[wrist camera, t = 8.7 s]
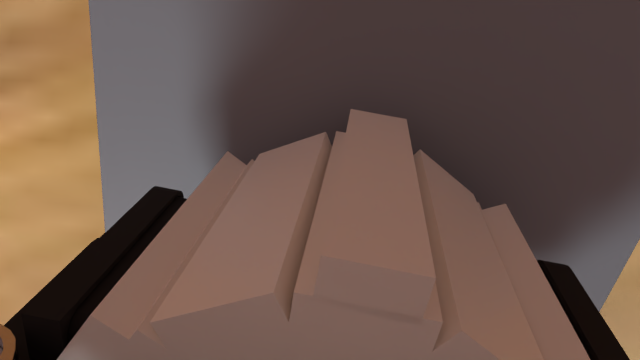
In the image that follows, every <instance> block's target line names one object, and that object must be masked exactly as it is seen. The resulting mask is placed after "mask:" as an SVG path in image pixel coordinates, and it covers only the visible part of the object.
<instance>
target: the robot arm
mask: <svg viewBox="0 0 640 360" xmlns="http://www.w3.org/2000/svg"><path fill="white" fill-rule="evenodd" d="M186 200H187V199H186V198H184V195H183V192H182V191H179V190H174V189H169V188H164V187H159V186H154V187H153V188H151V189H150V190H149V191H148V192H147V193H146V194H145V195H144V196H143V197H142V198H141V199H140V200H139V201H138V202H137V203H136V204H135V205H134V206H133V207H132V208H130V209H129V210H128V211H127V212H126V213H125V214H124V215H123V216H122V217H121V218H120V219H119V220H118V221H117V222H116V223H115V224H114V225H113V226H112V227H111V228H110V229H109V230H108V231H106V232H105V233H104V234H103V235H102V236H101V237H100V238H97V239H96V240H94V241H93V242H91V243H90V244H89V245H88V246H87V247H86V248H85V249H84V250H83V251H82V252H81V253H80V254H79V255H78V256H77V257H76V258H75V259H74V260H72V261H71V262H70V263H69V264H68V265H67V266H66V267H65V268H64V269H63V270H62V271H61V272H60V273H59V274H58V275H57V276H56V277H55V278H53V279H52V280H51V281H50V282H49V283H48V284H47V285H46V286H45V287H44V288H43V289H42V290H41V291H40V292H39V293H38V294H37V295H36V296H34V297H33V298H32V299H31V300H30V301H29V302H28V303H27V304H26V305H25V306H24V307H23V308H22V309H21V310H20V311H19V312H18V313H17V314H15V315H14V316H13V317H12V318H11V319H10V320H9V321H8V322H7V323H6V324H5V325H4V326H3V325H1V324H0V360H57V358H58V357H59V356H60V354H61V353H62V352H63V350H64V349H65V348H66V346H67V345H68V344H69V343H70V341H71V340H72V339H73V337H74V336H75V335H76V333H77V332H78V331H79V329H80V328H81V327H82V325H83V324H84V323H85V321H86V320H87V319H88V317H89V316H90V315H91V313H92V312H93V311H94V310H95V309H96V307H97V306H98V305H99V304H100V303H101V301H102V300H103V299H104V298H105V297H106V296H107V294H108V293H109V292H110V291H111V290H112V288H113V287H114V286H115V285H116V284H117V282H118V281H119V280H120V279H121V278H122V276H123V275H124V274H125V273H126V272H127V270H128V269H129V268H130V267H131V266H132V264H133V263H134V262H135V261H136V260H137V259H138V257H139V256H140V255H141V254H142V253H143V251H144V250H145V249H146V248H147V247H148V245H149V244H150V243H151V242H152V241H153V239H154V238H155V237H156V236H157V235H158V233H159V232H160V231H161V230H162V229H163V227H164V226H165V225H166V224H167V223H168V222H169V220H170V219H171V218H172V217H173V216H174V214H175V213H176V212H177V211H178V210H179V208H180V207H181V206H182V205H183V204H184V202H185V201H186ZM537 262H538V264H539V266H540V268H541V269H542V271H543V273H544V275H545V277H546V279H547V281H548V282H549V284H550V286H551V288H552V290H553V292H554V293H555V295H556V297H557V299H558V301H559V303H560V304H561V306H562V308H563V310H564V312H565V314H566V315H567V317H568V319H569V321H570V323H571V325H572V326H573V328H574V330H575V332H576V334H577V336H578V338H579V339H580V341H581V343H582V345H583V347H584V349H585V350H586V352H587V354H588V356H589V358H590V360H630V359H629V358H628V356H627V355H626V353H625V351H624V350H623V348H622V347H621V345H620V344H619V342H618V341H617V339H616V338H615V336H614V334H613V333H612V331H611V330H610V328H609V327H608V325H607V324H606V322H605V320H604V319H603V317H602V316H601V314H600V313H599V311H598V310H597V308H596V306H595V305H594V303H593V302H592V300H591V299H590V297H589V296H588V294H587V292H586V291H585V289H584V288H583V286H582V285H581V283H580V282H579V280H578V279H577V277H576V275H575V274H574V272H573V271H572V269H571V268H570V267H569V266H568V265H565V264H559V263H554V262H549V261H544V260H537Z"/></svg>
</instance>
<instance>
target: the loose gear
mask: <svg viewBox="0 0 640 360" xmlns="http://www.w3.org/2000/svg"><path fill="white" fill-rule="evenodd" d="M57 360H590V358H589V356H588V354H587V352H586V350H585V349H584V347H583V345H582V343H581V341H580V339H579V338H578V336H577V334H576V332H575V330H574V328H573V326H572V325H571V323H570V321H569V319H568V317H567V315H566V314H565V312H564V310H563V308H562V306H561V304H560V303H559V301H558V299H557V297H556V295H555V293H554V292H553V290H552V288H551V286H550V284H549V282H548V281H547V279H546V277H545V275H544V273H543V271H542V269H541V268H540V266H539V264H538V262H537V260H536V258H535V257H534V255H533V253H532V251H531V249H530V247H529V246H528V244H527V242H526V240H525V238H524V236H523V235H522V233H521V231H520V229H519V227H518V225H517V224H516V222H515V220H514V218H513V216H512V214H511V212H510V211H509V209H508V207H507V205H506V204H502V205H498V206H494V207H490V208H487V209H483V210H482V209H481V206H480V204H479V202H477V201H476V199H475V196H474V194H473V193H471V192H470V191H469V190H468V189H467V188H466V187H464V186H463V185H462V184H461V183H460V182H458V181H457V180H456V179H455V178H454V177H452V176H451V175H450V174H449V173H448V172H447V171H445V170H444V169H443V168H442V167H441V166H439V165H438V164H437V163H436V162H435V161H433V160H432V159H431V158H430V157H429V156H428V155H426V154H425V153H424V152H423V151H422V150H419V151H417V152H416V153H415V154H414V155H413V151H412V146H411V140H410V135H409V130H408V124H407V119H404V118H398V117H393V116H387V115H382V114H376V113H371V112H365V111H360V110H354V109H351V110H350V115H349V120H348V125H347V130H346V133H345V132H339V131H336V134H335V138H334V142H333V145H331V143H330V140H329V138H328V135H327V133H326V132H324V133H321V134H318V135H315V136H311V137H308V138H305V139H302V140H299V141H296V142H293V143H290V144H287V145H284V146H281V147H278V148H275V149H272V150H269V151H266V152H263V153H260V154H259V155H258V157H257V158H256V160H255V161H254V160H253V159H252V160H251V161H250V162H249V163H248V164H247V165H246V164H244V163H243V162H242V161H240V160H239V159H238V158H236V157H235V156H234V155H232V154H231V153H230V152H228V151H227V152H226V153H225V155H224V156H223V157H222V158H221V159H220V161H219V162H218V163H217V164H216V165H215V167H214V168H213V169H212V170H211V171H210V173H209V174H208V175H207V176H206V177H205V179H204V180H203V181H202V182H201V183H200V184H199V186H198V187H197V188H196V189H195V190H194V192H193V193H192V194H191V195H190V196H189V198H188V199H187V200H186V201H185V202H184V204H183V205H182V206H181V207H180V208H179V210H178V211H177V212H176V213H175V214H174V216H173V217H172V218H171V219H170V220H169V222H168V223H167V224H166V225H165V226H164V227H163V229H162V230H161V231H160V232H159V233H158V235H157V236H156V237H155V238H154V239H153V241H152V242H151V243H150V244H149V245H148V247H147V248H146V249H145V250H144V251H143V253H142V254H141V255H140V256H139V257H138V259H137V260H136V261H135V262H134V263H133V264H132V266H131V267H130V268H129V269H128V270H127V272H126V273H125V274H124V275H123V276H122V278H121V279H120V280H119V281H118V282H117V284H116V285H115V286H114V287H113V288H112V290H111V291H110V292H109V293H108V294H107V296H106V297H105V298H104V299H103V300H102V301H101V303H100V304H99V305H98V306H97V307H96V309H95V310H94V311H93V312H92V313H91V315H90V316H89V317H88V319H87V320H86V321H85V323H84V324H83V325H82V327H81V328H80V329H79V331H78V332H77V333H76V335H75V336H74V337H73V339H72V340H71V341H70V343H69V344H68V345H67V346H66V348H65V349H64V350H63V352H62V353H61V354H60V356H59V357H58V358H57Z"/></svg>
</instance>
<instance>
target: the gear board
mask: <svg viewBox="0 0 640 360" xmlns="http://www.w3.org/2000/svg"><path fill="white" fill-rule="evenodd" d="M89 12H90V26H91V40H92V54H93V68H94V82H95V96H96V110H97V124H98V138H99V152H100V166H101V180H102V194H103V208H104V221H105V232H106V231H108V230H109V229H110V228H111V227H112V226H113V225H114V224H115V223H116V222H117V221H118V220H119V219H120V218H121V217H122V216H123V215H124V214H125V213H126V212H127V211H128V210H129V209H130V208H132V207H133V206H134V205H135V204H136V203H137V202H138V201H139V200H140V199H141V198H142V197H143V196H144V195H145V194H146V193H147V192H148V191H149V190H150V189H151V188H153V187H154V186H159V187H164V188H169V189H174V190H179V191H182V192H183V195H184V198H186V199H188V198H189V196H190V195H191V194H192V193H193V192H194V190H195V189H196V188H197V187H198V186H199V184H200V183H201V182H202V181H203V180H204V179H205V177H206V176H207V175H208V174H209V173H210V171H211V170H212V169H213V168H214V167H215V165H216V164H217V163H218V162H219V161H220V159H221V158H222V157H223V156H224V155H225V153H226V152H227V151H228V152H230V153H231V154H232V155H234V156H235V157H236V158H238V159H239V160H240V161H242V162H243V163H244V164H246V165H247V164H248V163H249V162H250V161H251V160H252V159H253V160H254V161H255V160H256V158H257V157H258V155H259V154H260V153H263V152H266V151H269V150H272V149H275V148H278V147H281V146H284V145H287V144H290V143H293V142H296V141H299V140H302V139H305V138H308V137H311V136H315V135H318V134H321V133H324V132H326V133H327V135H328V138H329V140H330V143H331V145H333V142H334V138H335V134H336V131H339V132H345V133H346V130H347V125H348V120H349V115H350V110H351V109H354V110H360V111H365V112H371V113H376V114H382V115H387V116H393V117H398V118H404V119H407V124H408V130H409V135H410V140H411V146H412V151H413V155H414V154H415V153H416V152H417V151H419V150H422V151H423V152H424V153H425V154H426V155H428V156H429V157H430V158H431V159H432V160H433V161H435V162H436V163H437V164H438V165H439V166H441V167H442V168H443V169H444V170H445V171H447V172H448V173H449V174H450V175H451V176H452V177H454V178H455V179H456V180H457V181H458V182H460V183H461V184H462V185H463V186H464V187H466V188H467V189H468V190H469V191H470V192H471V193H473V194H474V196H475V199H476V201H477V202H479V204H480V206H481V209H482V210H483V209H487V208H490V207H494V206H498V205H502V204H506V205H507V207H508V209H509V211H510V212H511V214H512V216H513V218H514V220H515V222H516V224H517V225H518V227H519V229H520V231H521V233H522V235H523V236H524V238H525V240H526V242H527V244H528V246H529V247H530V249H531V251H532V253H533V255H534V257H535V258H536V260H544V261H549V262H554V263H559V264H565V265H568V266H569V267H570V268H571V269H572V271H573V272H574V274H575V275H576V277H577V279H578V280H579V282H580V283H581V285H582V286H583V288H584V289H585V291H586V292H587V294H588V296H589V297H590V299H591V300H592V302H593V303H594V305H595V306H596V308H597V310H598V311H600V310H601V308H602V306H603V304H604V302H605V300H606V299H607V297H608V295H609V293H610V291H611V290H612V288H613V286H614V284H615V282H616V281H617V279H618V277H619V275H620V273H621V272H622V270H623V268H624V266H625V264H626V263H627V261H628V259H629V257H630V255H631V253H632V252H633V250H634V248H635V246H636V244H637V243H638V241H639V239H640V0H89Z"/></svg>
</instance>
